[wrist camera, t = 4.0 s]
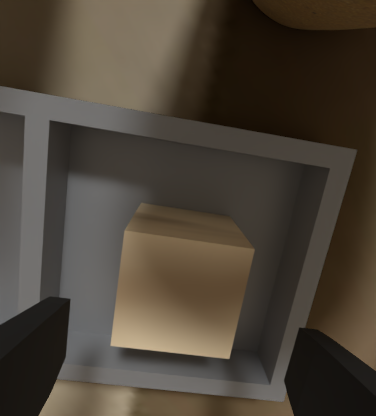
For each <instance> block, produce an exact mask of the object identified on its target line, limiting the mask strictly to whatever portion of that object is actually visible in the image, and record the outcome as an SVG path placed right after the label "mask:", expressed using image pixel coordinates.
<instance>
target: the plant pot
mask: <svg viewBox="0 0 376 416" xmlns="http://www.w3.org/2000/svg"><path fill="white" fill-rule="evenodd" d="M253 2H254V3H255V5H256V6H257V7H258V8H259V9H260V10H261V11H262V12H263V13H264V14H266V15H267V16H268V17H269V18H271V19H272V20H274V21H276V22H277V23H279V24H282V25H284V26H287V27H290V28H295V29H303V30H349V29H363V28H375V27H376V0H253Z"/></svg>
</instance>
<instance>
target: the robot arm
mask: <svg viewBox="0 0 376 416" xmlns="http://www.w3.org/2000/svg"><path fill="white" fill-rule="evenodd" d="M70 301H71V299H68V298H60V297H52V296H50V297H48V298H46V299H44V300H42V301H40V302H39V303H37V304H35V305H33V306H32V307H30V308H28V309H27V310H25V311H23V312H21V313H20V314H18V315H16V316H15V317H13V318H11V319H9V320H8V321H6V322H4V323H2V324H1V325H0V416H38V415H39V414H40V412H41V410H42V408H43V406H44V404H45V403H46V401H47V399H48V397H49V395H50V393H51V391H52V389H53V386H54V384H55V382H56V380H57V377H58V375H59V372H60V370H61V368H62V365H63V363H64V360H65V358H66V350H67V338H68V326H69V313H70ZM284 383H285V386H286V390H287V394H288V397H289V401H290V404H291V407H292V410H293V413H294V416H376V371H375V370H373V369H372V368H371V367H369V366H368V365H367V364H365V363H364V362H363V361H361V360H360V359H359V358H357V357H356V356H355V355H353V354H352V353H351V352H349V351H348V350H346V349H345V348H344V347H342V346H341V345H340V344H338V343H337V342H335V341H334V340H333V339H331V338H330V337H328V336H327V335H325V334H324V333H322V332H320V331H319V330H316V329H308V328H300V327H299V330H298V333H297V337H296V340H295V344H294V347H293V351H292V354H291V358H290V361H289V364H288V368H287V371H286V375H285V378H284Z"/></svg>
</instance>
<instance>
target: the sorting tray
mask: <svg viewBox="0 0 376 416" xmlns="http://www.w3.org/2000/svg"><path fill="white" fill-rule="evenodd" d="M356 153H357V150H355V149H350V148H344V147H339V146H333V145H328V144H322V143H316V142H311V141H305V140H300V139H294V138H288V137H283V136H277V135H272V134H266V133H260V132H255V131H249V130H244V129H238V128H233V127H227V126H221V125H216V124H210V123H205V122H199V121H193V120H188V119H182V118H177V117H171V116H165V115H160V114H154V113H149V112H143V111H137V110H132V109H126V108H121V107H115V106H110V105H104V104H98V103H93V102H87V101H82V100H76V99H70V98H65V97H59V96H54V95H48V94H42V93H37V92H31V91H26V90H20V89H15V88H9V87H3V86H0V325H1V324H2V323H4V322H6V321H8V320H9V319H11V318H13V317H15V316H16V315H18V314H20V313H21V312H23V311H25V310H27V309H28V308H30V307H32V306H33V305H35V304H37V303H39V302H40V301H42V300H44V299H46V298H48V297H50V296H52V297H60V298H68V299H71V301H70V313H69V326H68V338H67V350H66V358H65V360H64V363H63V365H62V368H61V370H60V372H59V375H58V377H57V379H61V380H71V381H81V382H91V383H101V384H111V385H121V386H131V387H141V388H151V389H161V390H170V391H180V392H190V393H200V394H210V395H220V396H230V397H240V398H250V399H260V400H270V401H280V402H283V401H284V398H285V394H286V391H287V390H286V386H285V383H284V378H285V375H286V371H287V368H288V364H289V361H290V358H291V354H292V351H293V347H294V344H295V340H296V337H297V333H298V330H299V327H300V328H305V326H306V323H307V319H308V316H309V313H310V309H311V306H312V302H313V299H314V296H315V292H316V289H317V285H318V282H319V279H320V275H321V272H322V268H323V265H324V262H325V258H326V255H327V251H328V248H329V245H330V241H331V238H332V234H333V231H334V228H335V224H336V221H337V217H338V214H339V211H340V207H341V204H342V200H343V197H344V194H345V190H346V187H347V183H348V180H349V177H350V173H351V170H352V166H353V163H354V160H355V156H356ZM141 203H146V204H152V205H159V206H165V207H172V208H179V209H185V210H192V211H198V212H205V213H211V214H218V215H224V216H230V217H231V218H232V220H233V221H234V222H235V224H236V225H237V226H238V228H239V229H240V230H241V232H242V233H243V234H244V236H245V237H246V238H247V240H248V241H249V242H250V243H251V245H252V246H253V247H254V249H255V251H254V255H253V259H252V264H251V268H250V272H249V277H248V281H247V285H246V290H245V294H244V298H243V302H242V307H241V311H240V315H239V320H238V324H237V328H236V332H235V337H234V341H233V345H232V350H231V354H230V358H229V359H224V358H215V357H206V356H197V355H188V354H179V353H170V352H161V351H152V350H143V349H134V348H125V347H116V346H110V345H111V337H112V329H113V320H114V312H115V304H116V296H117V288H118V279H119V271H120V263H121V255H122V247H123V238H124V230H125V229H126V227H127V225H128V224H129V222H130V220H131V219H132V217H133V215H134V214H135V212H136V210H137V209H138V207H139V206H140V204H141Z"/></svg>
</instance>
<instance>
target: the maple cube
mask: <svg viewBox="0 0 376 416" xmlns="http://www.w3.org/2000/svg"><path fill="white" fill-rule="evenodd" d="M254 251H255V249H254V247H253V246H252V245H251V243H250V242H249V241H248V240H247V238H246V237H245V236H244V234H243V233H242V232H241V230H240V229H239V228H238V226H237V225H236V224H235V222H234V221H233V220H232V218H231V217H230V216H224V215H218V214H211V213H205V212H198V211H192V210H185V209H179V208H172V207H165V206H159V205H152V204H146V203H141V204H140V206H139V207H138V209H137V210H136V212H135V214H134V215H133V217H132V219H131V220H130V222H129V224H128V225H127V227H126V229H125V230H124V238H123V247H122V255H121V263H120V271H119V279H118V288H117V296H116V304H115V312H114V320H113V329H112V337H111V345H110V346H116V347H125V348H134V349H143V350H152V351H161V352H170V353H179V354H188V355H197V356H206V357H215V358H224V359H229V358H230V354H231V350H232V345H233V341H234V337H235V332H236V328H237V324H238V320H239V315H240V311H241V307H242V302H243V298H244V294H245V290H246V285H247V281H248V277H249V272H250V268H251V264H252V259H253V255H254Z"/></svg>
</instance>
